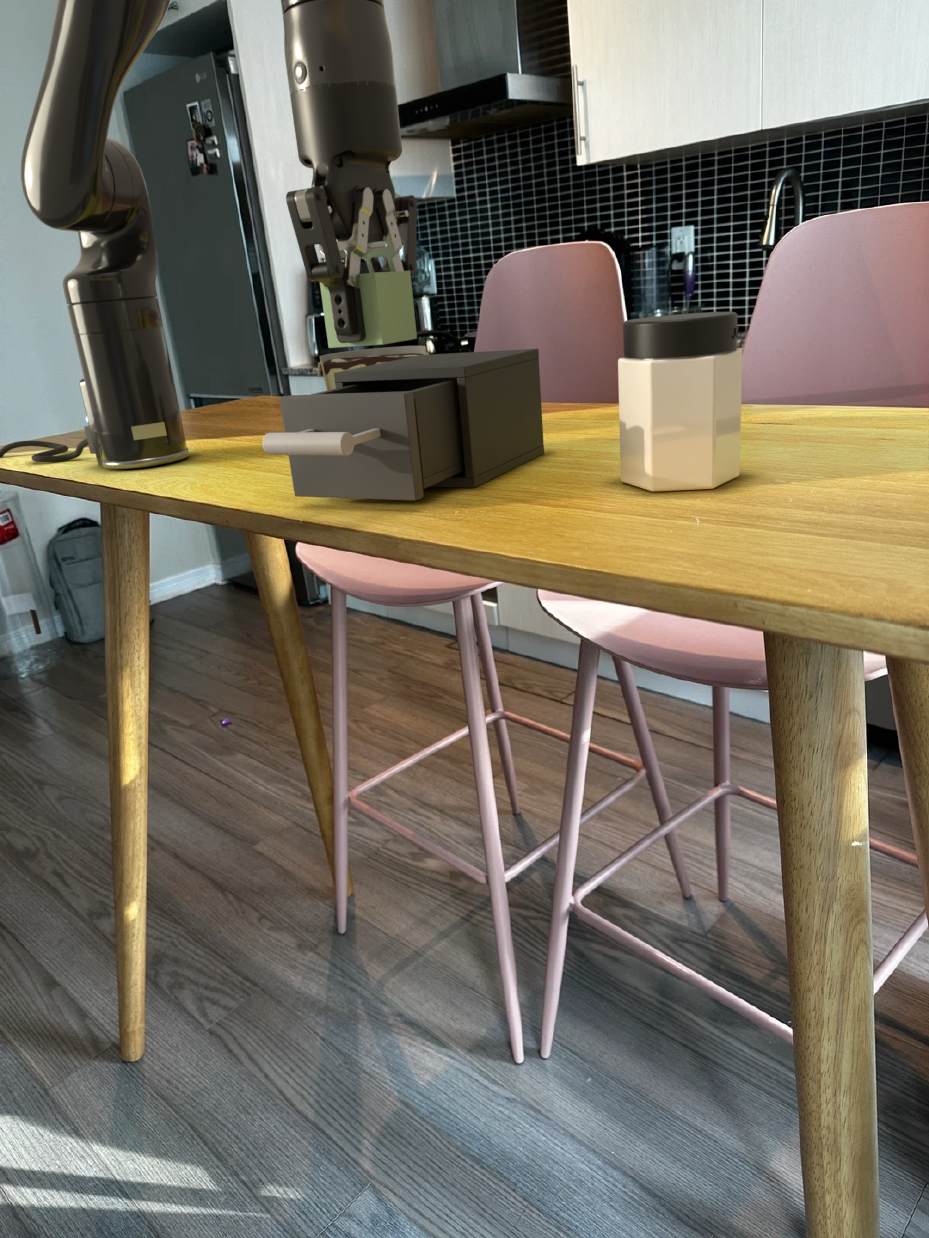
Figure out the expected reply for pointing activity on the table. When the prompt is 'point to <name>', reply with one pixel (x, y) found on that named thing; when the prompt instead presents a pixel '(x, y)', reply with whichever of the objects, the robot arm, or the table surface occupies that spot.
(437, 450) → the pulled-out drawer
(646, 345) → the jar
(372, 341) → the block
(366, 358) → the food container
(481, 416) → the grey drawer unit
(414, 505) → the table surface
